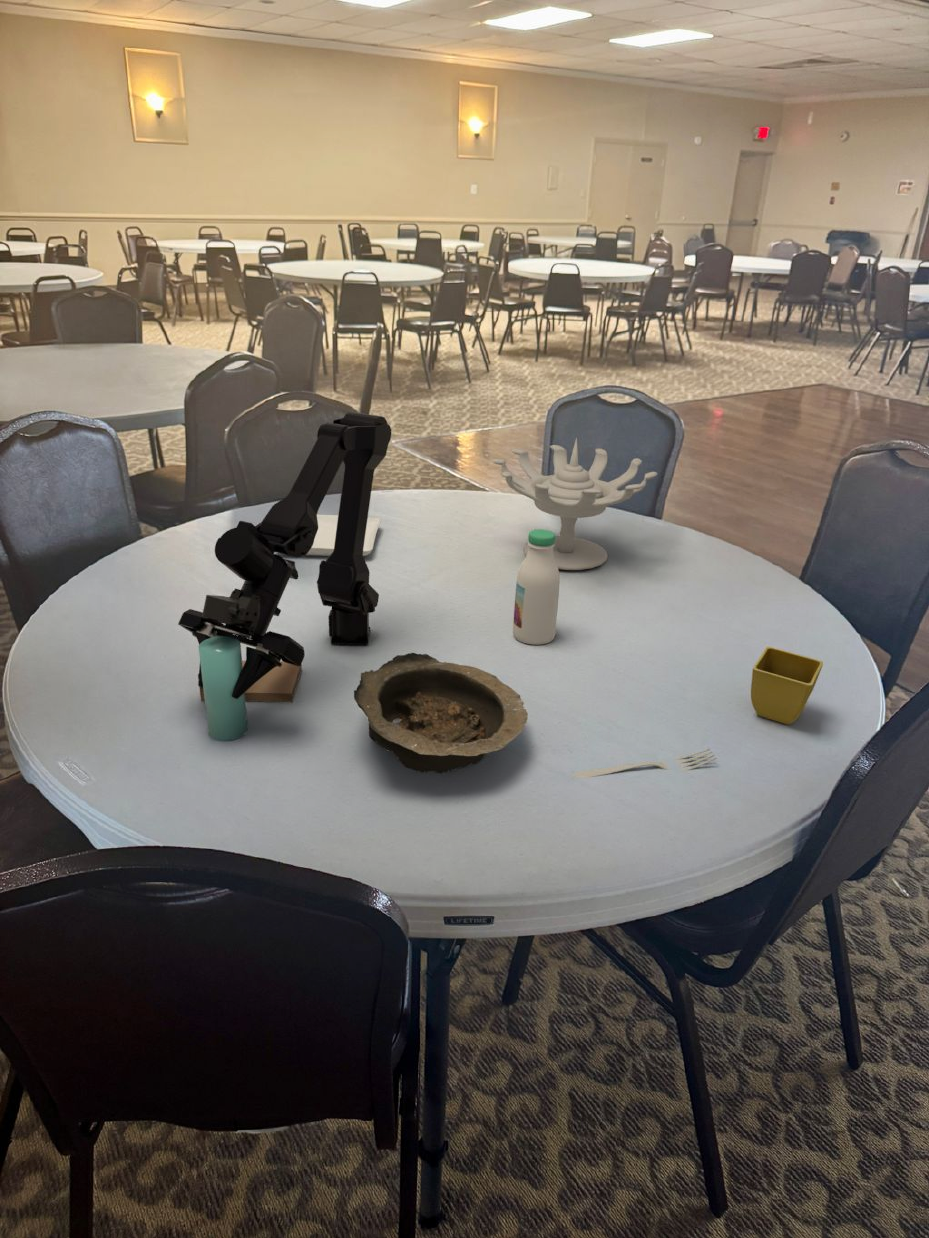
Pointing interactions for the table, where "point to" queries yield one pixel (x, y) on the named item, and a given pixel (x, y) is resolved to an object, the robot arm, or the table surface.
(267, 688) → the shelf board
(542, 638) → the milk bottle
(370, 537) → the salad plate
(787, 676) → the flower pot
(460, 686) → the stone bowl
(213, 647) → the mint green capsule
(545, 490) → the candelabra
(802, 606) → the table surface
